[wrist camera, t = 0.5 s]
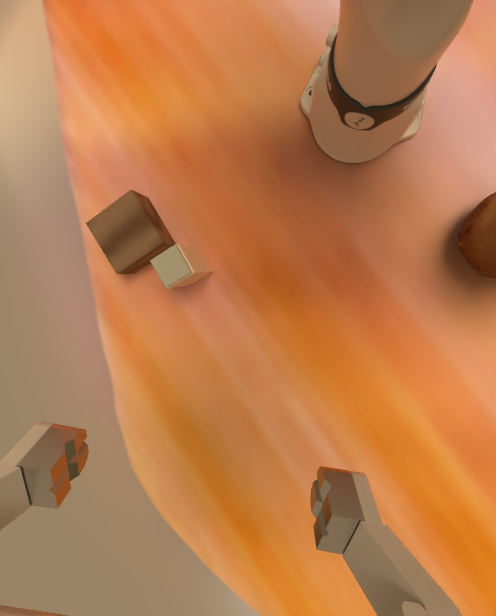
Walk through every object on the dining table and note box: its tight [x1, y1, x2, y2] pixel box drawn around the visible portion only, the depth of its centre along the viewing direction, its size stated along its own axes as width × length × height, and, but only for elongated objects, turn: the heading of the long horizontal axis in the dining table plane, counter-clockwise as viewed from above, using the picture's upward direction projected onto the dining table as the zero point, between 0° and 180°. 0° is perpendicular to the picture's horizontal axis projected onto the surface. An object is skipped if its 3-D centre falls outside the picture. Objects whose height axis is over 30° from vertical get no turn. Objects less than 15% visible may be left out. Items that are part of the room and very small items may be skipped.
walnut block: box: [86, 190, 176, 274], centre depth 52 cm, size 10×10×6 cm
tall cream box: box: [150, 243, 213, 289], centre depth 49 cm, size 5×5×11 cm
